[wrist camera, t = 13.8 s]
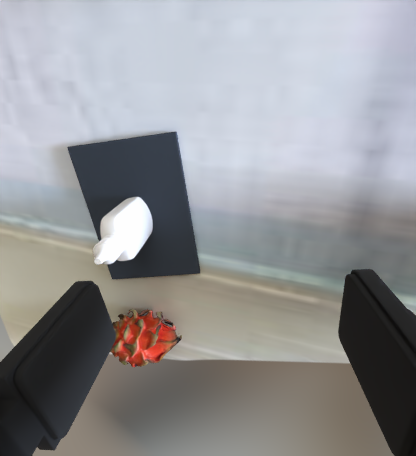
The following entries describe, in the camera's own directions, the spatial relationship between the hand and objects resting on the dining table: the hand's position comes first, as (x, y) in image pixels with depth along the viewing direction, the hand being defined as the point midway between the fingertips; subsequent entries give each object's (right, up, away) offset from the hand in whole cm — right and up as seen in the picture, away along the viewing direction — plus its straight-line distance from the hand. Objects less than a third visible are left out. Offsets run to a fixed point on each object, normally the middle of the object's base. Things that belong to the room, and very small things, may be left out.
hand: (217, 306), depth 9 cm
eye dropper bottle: (-10, +5, +25) cm, 27 cm away
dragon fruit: (-10, -13, +33) cm, 37 cm away
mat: (-10, +5, +25) cm, 27 cm away
